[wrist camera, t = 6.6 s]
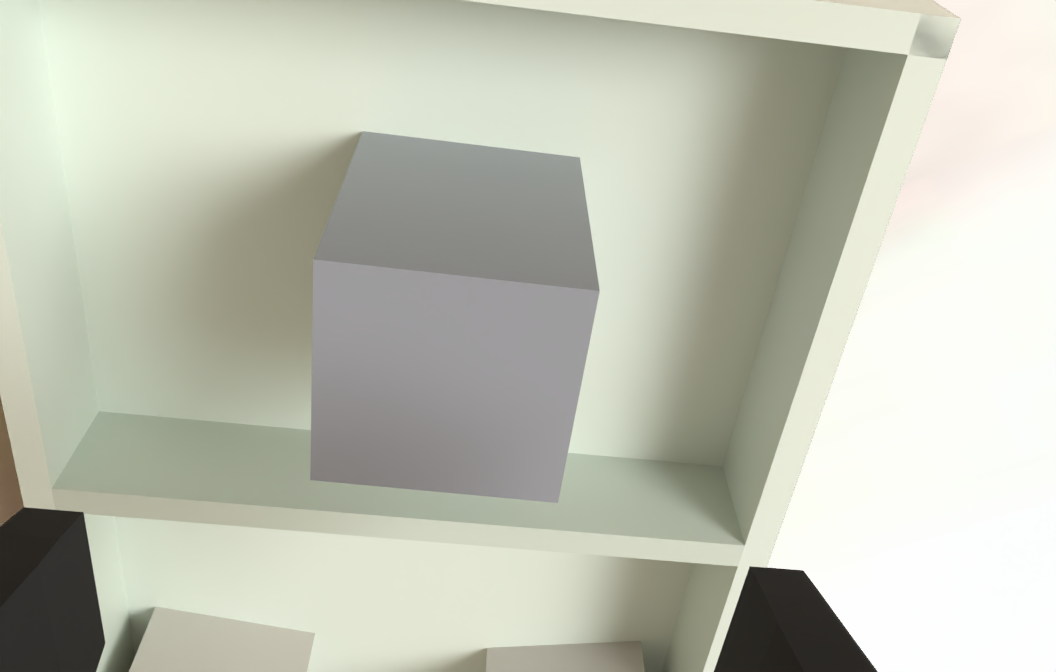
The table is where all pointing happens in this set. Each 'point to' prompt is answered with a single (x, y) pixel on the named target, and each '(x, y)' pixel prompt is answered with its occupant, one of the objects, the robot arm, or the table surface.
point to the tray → (287, 299)
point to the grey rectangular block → (451, 319)
